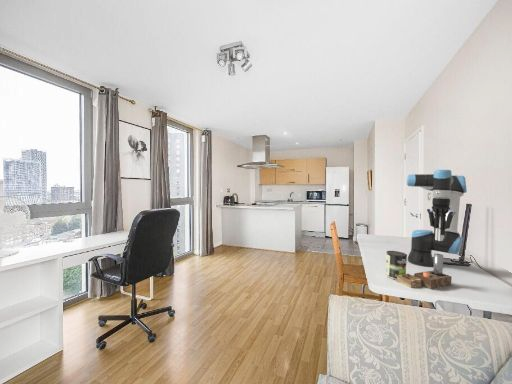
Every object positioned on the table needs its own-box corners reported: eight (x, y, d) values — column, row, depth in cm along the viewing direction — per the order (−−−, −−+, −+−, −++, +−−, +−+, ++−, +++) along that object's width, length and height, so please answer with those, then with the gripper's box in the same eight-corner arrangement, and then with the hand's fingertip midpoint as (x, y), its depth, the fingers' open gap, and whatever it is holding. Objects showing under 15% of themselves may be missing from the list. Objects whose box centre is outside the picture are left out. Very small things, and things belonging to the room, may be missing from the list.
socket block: (433, 278, 132) (433, 270, 132) (451, 285, 124) (451, 276, 123) (413, 282, 127) (414, 273, 127) (430, 289, 118) (431, 279, 118)
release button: (425, 280, 125) (425, 271, 125) (430, 283, 123) (431, 274, 122) (421, 281, 124) (421, 272, 124) (427, 283, 122) (427, 274, 121)
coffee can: (410, 279, 130) (411, 255, 130) (396, 281, 128) (397, 256, 127) (395, 272, 140) (396, 250, 140) (381, 274, 138) (382, 251, 137)
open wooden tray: (407, 279, 130) (407, 273, 130) (421, 285, 122) (421, 279, 122) (396, 281, 127) (397, 275, 127) (410, 287, 120) (411, 281, 120)
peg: (435, 281, 129) (437, 253, 129) (443, 284, 125) (445, 255, 125) (430, 281, 128) (432, 253, 127) (438, 284, 124) (440, 256, 123)
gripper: (423, 197, 130) (421, 237, 131) (451, 198, 117) (448, 244, 118) (432, 197, 133) (430, 236, 134) (460, 198, 119) (457, 243, 120)
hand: (438, 240), depth 126 cm, fingers closed
